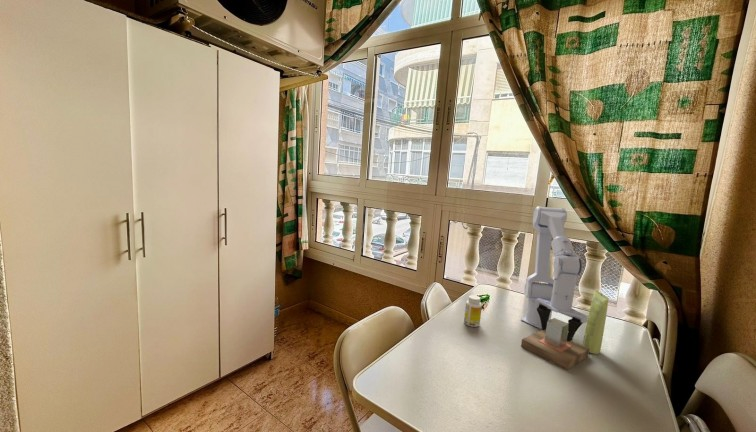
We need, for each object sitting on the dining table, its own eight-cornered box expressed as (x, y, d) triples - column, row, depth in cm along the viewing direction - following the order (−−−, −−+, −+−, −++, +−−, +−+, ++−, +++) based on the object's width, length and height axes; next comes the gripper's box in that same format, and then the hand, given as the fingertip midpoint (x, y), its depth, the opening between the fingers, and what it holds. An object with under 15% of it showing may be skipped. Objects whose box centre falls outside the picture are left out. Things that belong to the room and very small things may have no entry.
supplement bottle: (482, 325, 114) (485, 298, 112) (473, 329, 110) (477, 301, 109) (469, 319, 118) (472, 293, 117) (460, 322, 114) (463, 296, 113)
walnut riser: (543, 335, 109) (544, 328, 109) (587, 356, 98) (589, 348, 97) (521, 346, 101) (522, 338, 100) (567, 370, 90) (568, 361, 89)
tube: (605, 352, 100) (615, 294, 98) (598, 357, 98) (608, 297, 95) (585, 344, 105) (595, 288, 102) (578, 348, 102) (588, 291, 100)
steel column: (551, 338, 102) (554, 317, 101) (565, 344, 98) (569, 323, 97) (544, 341, 99) (547, 320, 98) (559, 348, 96) (562, 327, 95)
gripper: (533, 287, 100) (527, 327, 102) (583, 304, 88) (575, 349, 90) (544, 284, 104) (538, 322, 106) (593, 300, 93) (586, 343, 94)
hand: (556, 334), depth 98 cm, fingers open, 7 cm apart
